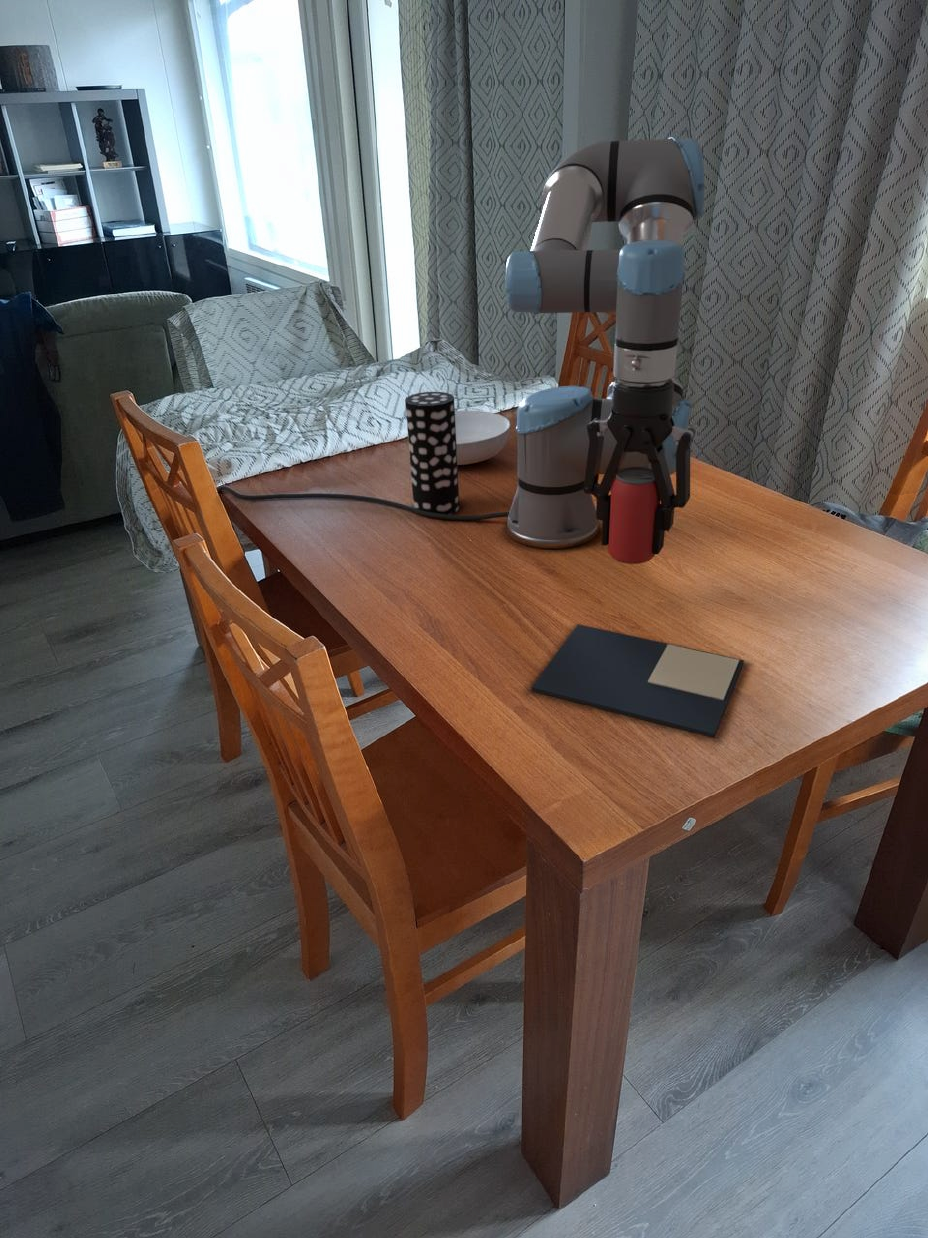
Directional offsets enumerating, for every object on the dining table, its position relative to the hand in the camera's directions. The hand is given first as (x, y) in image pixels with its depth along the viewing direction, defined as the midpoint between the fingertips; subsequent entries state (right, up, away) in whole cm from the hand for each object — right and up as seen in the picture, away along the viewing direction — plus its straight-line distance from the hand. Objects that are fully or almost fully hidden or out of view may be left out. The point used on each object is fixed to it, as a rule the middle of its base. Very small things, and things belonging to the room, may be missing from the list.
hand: (632, 545), depth 114 cm
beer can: (0, -1, +1) cm, 2 cm away
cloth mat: (-2, -17, -12) cm, 21 cm away
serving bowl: (-24, +23, +58) cm, 67 cm away
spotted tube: (-28, +10, +36) cm, 47 cm away
